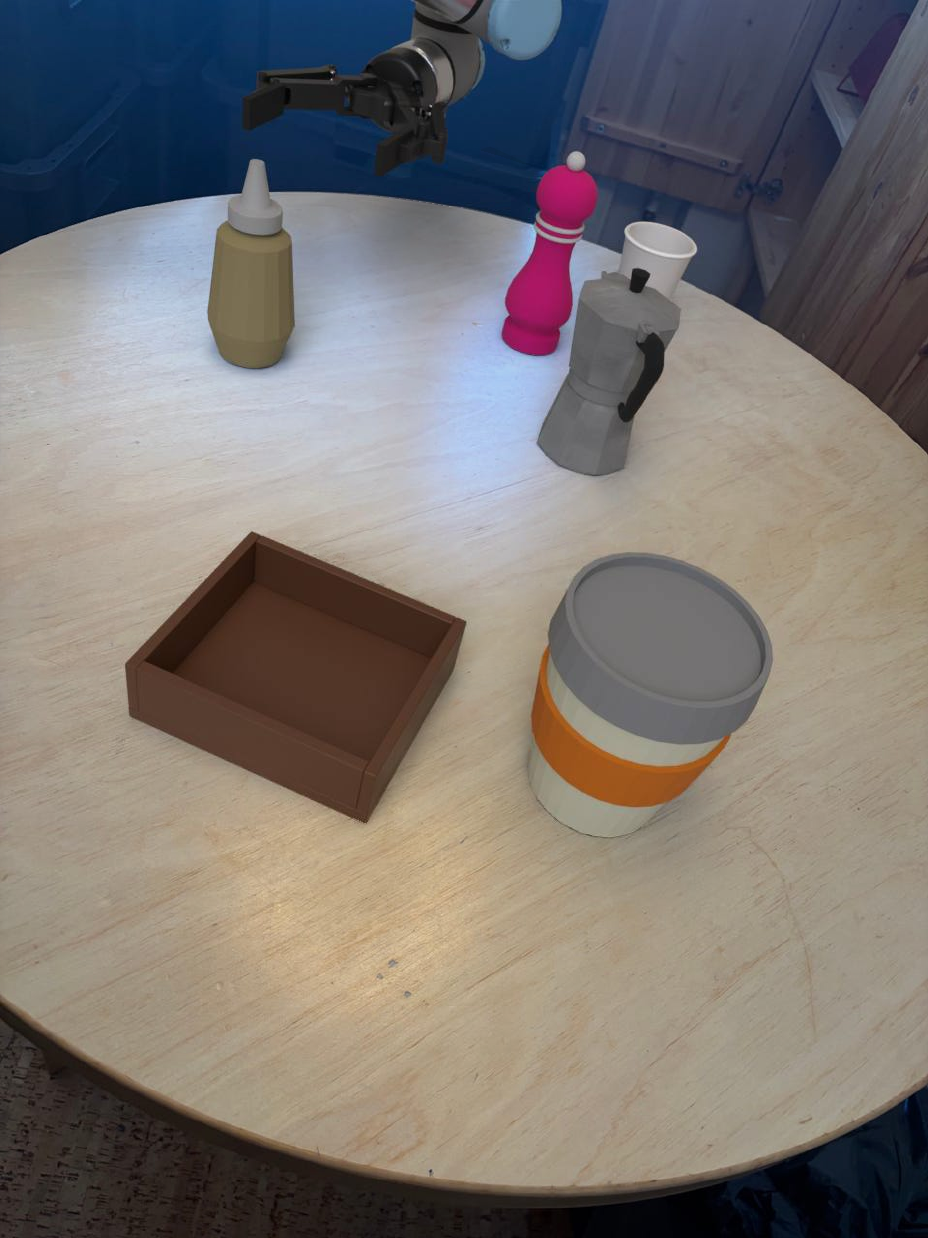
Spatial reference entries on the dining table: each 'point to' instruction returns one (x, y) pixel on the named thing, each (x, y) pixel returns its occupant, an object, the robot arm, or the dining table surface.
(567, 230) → the pepper mill
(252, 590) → the brown tray
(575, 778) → the reusable coffee cup
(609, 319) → the coffeepot
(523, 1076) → the dining table surface
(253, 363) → the squeeze bottle
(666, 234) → the dixie cup
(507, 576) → the dining table surface
